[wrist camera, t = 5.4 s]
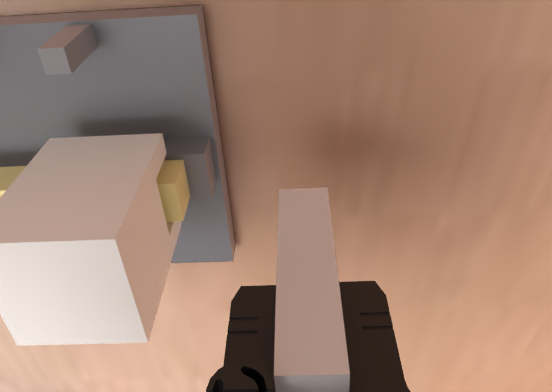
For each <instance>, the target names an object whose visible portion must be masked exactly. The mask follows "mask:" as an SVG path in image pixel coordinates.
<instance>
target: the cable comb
mask: <svg viewBox="0 0 552 392" xmlns="http://www.w3.org/2000/svg"><path fill="white" fill-rule="evenodd" d="M156 133H162V134H163V138H164V143H165V148H166V153H167V154H166V156H165V159H164V161H163V164H162V166H161V169H160V171H159V174H158V176H157V179H156V181H157V185H158V189H159V193H160V198H161V202H162V206H163V210H164V215H165V219H166V222H179V221H181V223H182V225H181V229H180V232H179V236H178V239H177V243H176V246H175V250H174V253H173V257H172V260H171V263H192V262H225V261H233V258H234V251H235V238H234V230H233V223H232V216H231V209H230V202H229V194H228V187H227V180H226V173H225V166H224V158H223V151H222V144H221V137H220V130H219V122H218V115H217V108H216V101H215V93H214V86H213V79H212V72H211V65H210V57H209V50H208V43H207V36H206V29H205V21H204V14H203V7H202V5H194V6H177V7H159V8H141V9H124V10H106V11H89V12H71V13H53V14H36V15H18V16H1V17H0V197H1V196H2V195H3V194H4V193H5V191H6V190H7V189H8V188H9V187H10V185H11V184H12V183H13V182H14V181H15V179H16V178H17V177H18V176H19V175H20V173H21V172H22V171H23V170H24V169H25V167H26V166H27V165H28V164H29V163H30V161H31V160H32V159H33V158H34V156H35V155H36V154H37V153H38V152H39V150H40V149H41V148H42V147H43V146H44V144H45V143H46V142H47V141H48V140H49V138H65V137H88V136H110V135H133V134H156Z"/></svg>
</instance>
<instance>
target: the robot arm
mask: <svg viewBox="0 0 552 392" xmlns="http://www.w3.org/2000/svg"><path fill="white" fill-rule="evenodd" d="M229 318H230V321H229V325H228V335H227V341H226V349H225V357H224V366H223V367H222V368H220V369H218V371H217V372H216V373H215V374H214V375H213V376H212V377H211V379H210V381H209V384H208V386H207V389H206V392H410V390H409V389H408V387H407V385H406V382H405V379H404V375H403V370H402V366H401V361H400V357H399V352H398V348H397V343H396V339H395V334H394V330H393V325H392V321H391V316H390V312H389V307H388V303H387V298H386V295H385V294H384V292H383V291H382V290H381V288H380V287H379V286H378V285H377V283H376V282H375V281H357V282H339V278H338V270H337V262H336V253H335V245H334V236H333V228H332V220H331V211H330V203H329V195H328V187H321V188H297V189H279V197H278V234H277V272H276V285H267V286H241V287H240V289H239V290H238V292H237V293H236V295H235V297H234V298H233V300H232V301H231V309H230V317H229Z"/></svg>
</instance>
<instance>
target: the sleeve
mask: <svg viewBox="0 0 552 392" xmlns="http://www.w3.org/2000/svg"><path fill="white" fill-rule="evenodd" d="M166 154H167V153H166V148H165V143H164V138H163V134H162V133H156V134H133V135H110V136H88V137H65V138H49V140H48V141H47V142H46V143H45V144H44V146H43V147H42V148H41V149H40V150H39V152H38V153H37V154H36V155H35V156H34V158H33V159H32V160H31V161H30V163H29V164H28V165H27V166H26V167H25V169H24V170H23V171H22V172H21V173H20V175H19V176H18V177H17V178H16V179H15V181H14V182H13V183H12V184H11V185H10V187H9V188H8V189H7V190H6V191H5V193H4V194H3V195H2V196H1V197H0V315H1V317H2V319H3V320H4V322H5V324H6V326H7V328H8V329H9V331H10V333H11V335H12V337H13V338H14V340H15V342H16V344H17V345H62V344H106V343H148V341H149V337H150V334H151V330H152V327H153V323H154V320H155V316H156V313H157V309H158V306H159V302H160V299H161V295H162V292H163V288H164V285H165V281H166V278H167V274H168V271H169V267H170V264H171V260H172V257H173V253H174V250H175V246H176V243H177V239H178V236H179V232H180V229H181V225H182V223H181V221H179V222H166V219H165V215H164V210H163V206H162V202H161V198H160V193H159V189H158V185H157V181H156V179H157V176H158V174H159V171H160V169H161V166H162V164H163V161H164V159H165V156H166Z"/></svg>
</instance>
